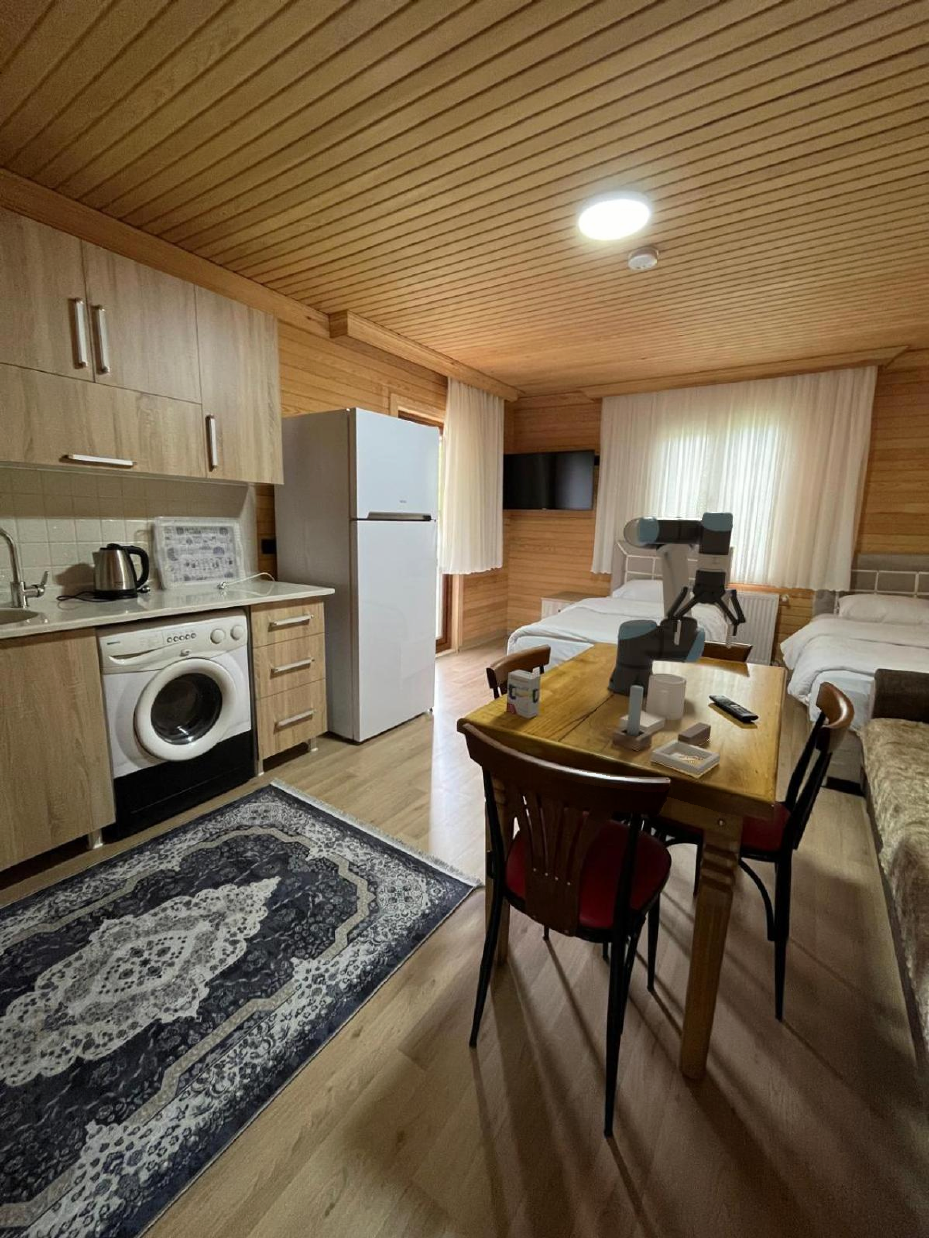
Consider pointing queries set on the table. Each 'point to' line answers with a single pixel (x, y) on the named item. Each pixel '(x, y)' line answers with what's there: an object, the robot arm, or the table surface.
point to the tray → (678, 748)
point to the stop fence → (695, 734)
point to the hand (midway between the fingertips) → (701, 645)
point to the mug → (666, 696)
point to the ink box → (523, 693)
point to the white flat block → (646, 722)
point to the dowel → (634, 710)
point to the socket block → (632, 739)
